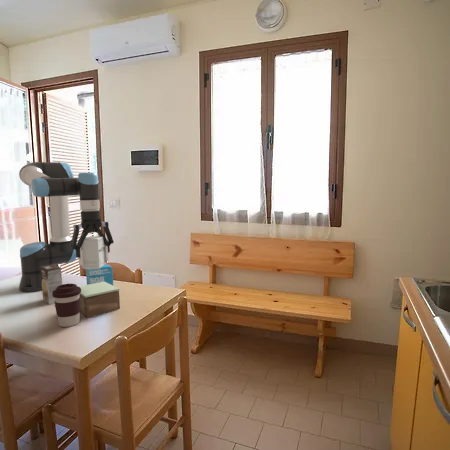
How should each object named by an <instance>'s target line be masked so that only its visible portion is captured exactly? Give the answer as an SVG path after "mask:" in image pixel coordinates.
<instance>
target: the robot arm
mask: <svg viewBox="0 0 450 450" xmlns="http://www.w3.org/2000/svg"><path fill="white" fill-rule="evenodd" d="M18 175H19V179H20V181H21V182H22V183H24V185H26V186H31V191H32V194H33V196H34V197H36V198H37V197H38V198H47V197H49V205H50V206H49V207H50V218H51V219H50V221H51V222H50V223H51V238H50V239H49V243H46V242H45V241H35V242H31V243H27V244H24V245H22V246H21V247H20V248H19V259H20V266H21V277H20V281H19V285H18V289H19V291H20V292H21V293H22V292H23V293H33V292H41V291H42V283H41V272H40V267H42V266H47V265H52V264H55V265H57V266H58V265H62V264H68V263H73V262H75V260H76V259H78V265H79V266H81V267H82V266H83V253H82V250H81V246H82V244H83V242H84V239H85V238H86V237H88V235H89V234H91V233H96V234H97V236H100V237H103V240H104V245H105V261H106V262H109V253H110V252H111V251H110V250H111V249H110V246H111V245H112V244H114V239H113V236H112V233H111V230H110V228H109V221H102V220H101V218H102V217H101V215H102V214H101V211H100V209H101V204H100V203H101V202H100V201H101V200H100V187H99V175H98V174H97V173H96V172H79V173H78V175H77V177H74V175H75V174H74V171H73V169H72V167H71V165H70V164H69V163H67V162H58V161H57V162H55V161H54V162H51V161H34V162H29V163H26V164H25V165H23V166H22V167H21V168H20V170H19V174H18ZM70 196H71V197H72V196H73V197H74V196H75V197H77V196H79V206H80V207H79V209H80V210H81V211H80V219H81V222H80V224H78V223H77V224H73V233H72V236H71V227H70V225H71V224H70V213H69V197H70ZM101 227H103V229H104V231H102V229H101ZM81 228H82V232H81V235H80V230H81ZM103 232H104V233H105V235H104V233H103ZM79 235H80V237H79Z"/></svg>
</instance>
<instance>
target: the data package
mask: <svg viewBox="0 0 450 450" xmlns="http://www.w3.org/2000/svg"><path fill="white" fill-rule="evenodd" d="M113 273H114V272H113V267H112V266H111V265H110V264H105V265H104V266H102V267H101V268H99V269H85V277H86V278H85V279H86V285H88V284H94V283H99V282H107V283H109V284H111V285H113V286H114V274H113Z"/></svg>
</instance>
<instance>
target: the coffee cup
mask: <svg viewBox="0 0 450 450" xmlns="http://www.w3.org/2000/svg"><path fill="white" fill-rule="evenodd" d="M78 286H79V285H77V284H75V283H64V284H63V283H62V285H60V286H58V287H57V288H56V290H54V291H53V292H52V296H53V297H54V298H55V303H54V306H55V312H56V313H55V314H56V317H57V321H58V325H59V326H60V327H61V328H68V327H69V328H70V327H73V326H76V325H78V324H79V323H80V320H81V319H80V318H81V317H80V315H81V313H80V293H81V288H80V287H78Z"/></svg>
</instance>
